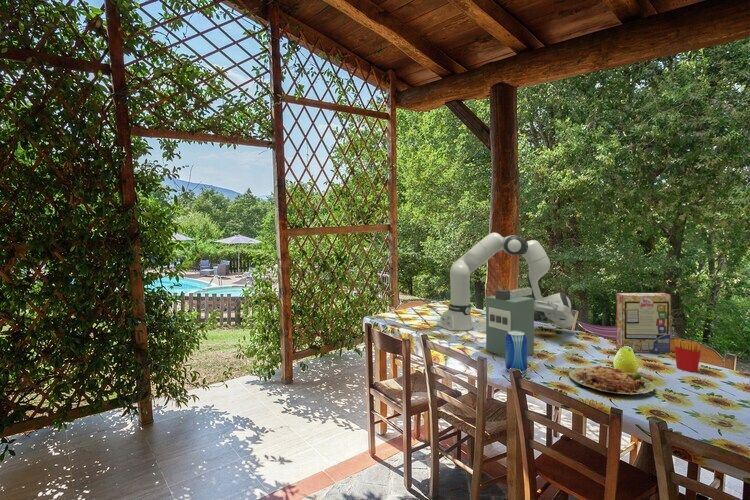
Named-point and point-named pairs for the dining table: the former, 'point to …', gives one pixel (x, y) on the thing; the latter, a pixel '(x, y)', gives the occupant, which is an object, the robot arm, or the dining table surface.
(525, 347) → the beer can
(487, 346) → the switch cabinet
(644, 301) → the board game box
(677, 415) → the dining table surface
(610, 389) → the rice dish
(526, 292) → the lever bar
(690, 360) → the french fries
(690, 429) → the dining table surface
